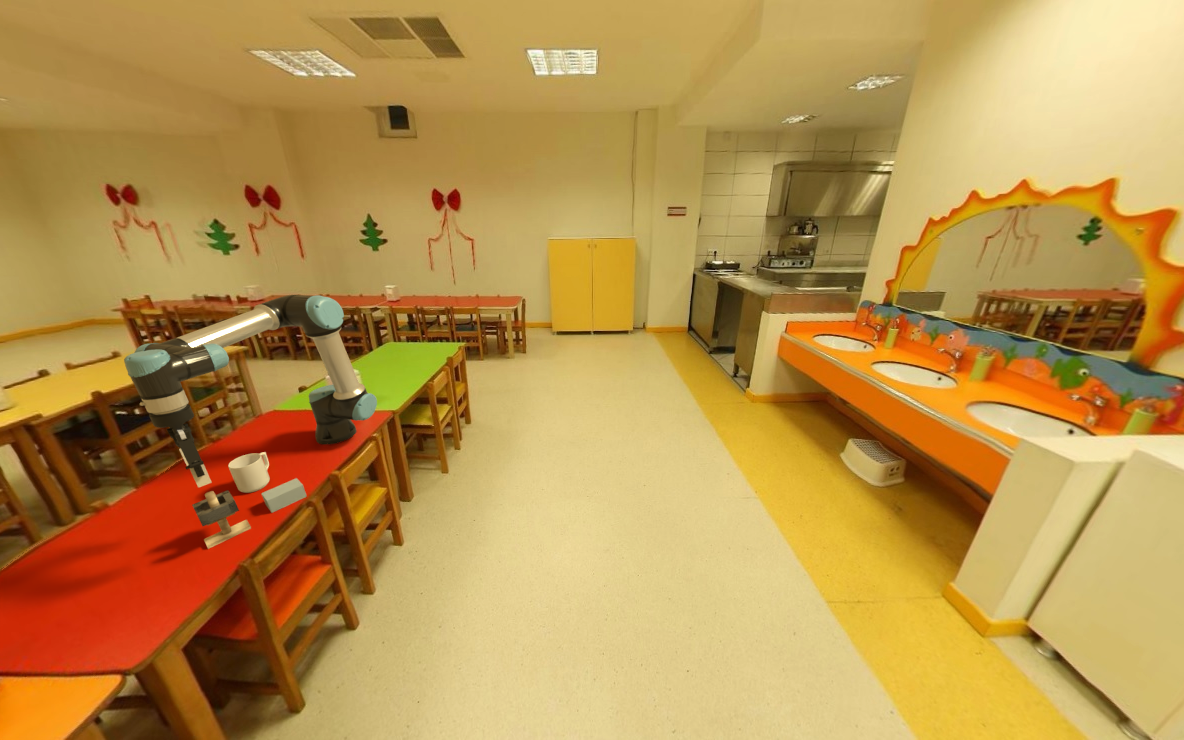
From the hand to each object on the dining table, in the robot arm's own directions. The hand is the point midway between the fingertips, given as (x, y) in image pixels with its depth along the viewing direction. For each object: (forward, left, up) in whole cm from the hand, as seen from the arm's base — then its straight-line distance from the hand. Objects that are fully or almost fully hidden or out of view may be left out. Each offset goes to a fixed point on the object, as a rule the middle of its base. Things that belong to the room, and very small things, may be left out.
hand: (199, 475), depth 107 cm
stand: (0, 0, -23) cm, 23 cm away
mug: (-13, -23, -23) cm, 35 cm away
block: (-16, -4, -23) cm, 28 cm away
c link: (0, 0, -14) cm, 14 cm away
